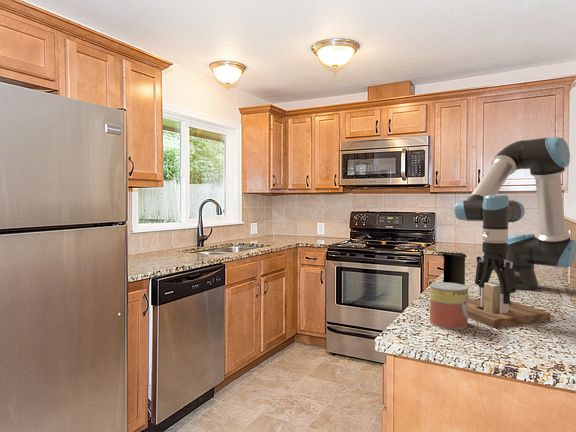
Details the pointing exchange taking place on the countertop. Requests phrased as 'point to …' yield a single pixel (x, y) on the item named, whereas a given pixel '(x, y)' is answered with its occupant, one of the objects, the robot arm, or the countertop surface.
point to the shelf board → (506, 314)
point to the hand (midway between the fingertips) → (493, 309)
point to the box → (492, 297)
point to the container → (454, 268)
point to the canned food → (449, 305)
